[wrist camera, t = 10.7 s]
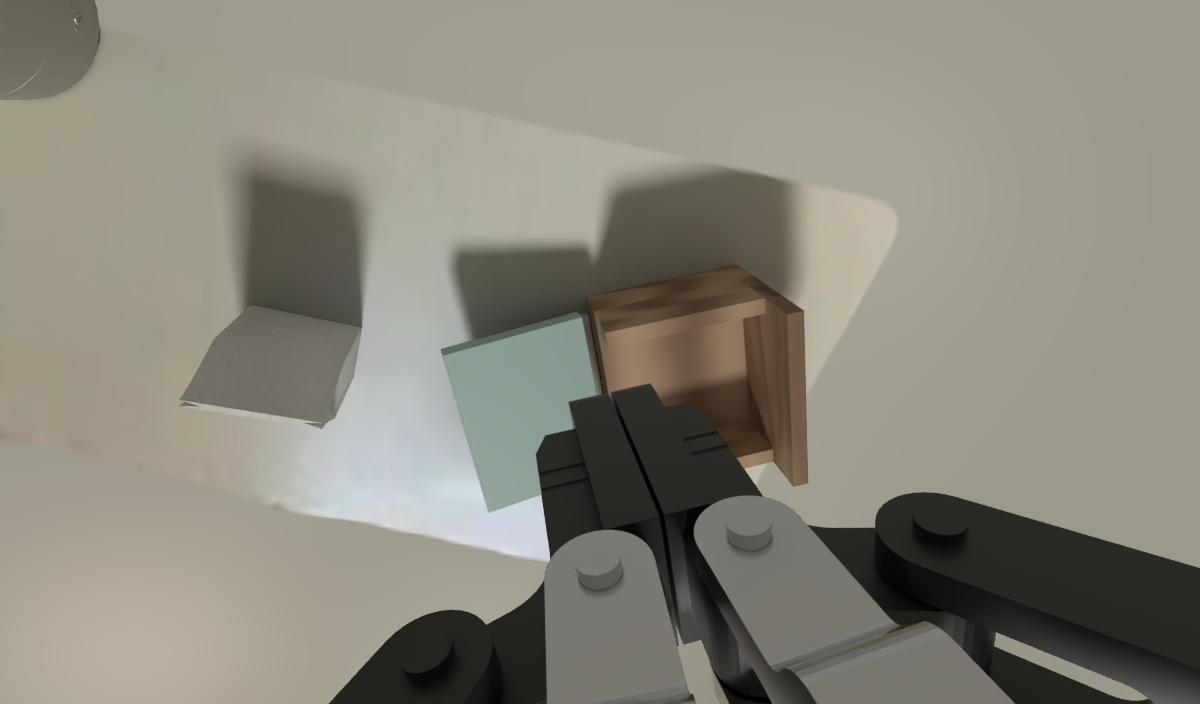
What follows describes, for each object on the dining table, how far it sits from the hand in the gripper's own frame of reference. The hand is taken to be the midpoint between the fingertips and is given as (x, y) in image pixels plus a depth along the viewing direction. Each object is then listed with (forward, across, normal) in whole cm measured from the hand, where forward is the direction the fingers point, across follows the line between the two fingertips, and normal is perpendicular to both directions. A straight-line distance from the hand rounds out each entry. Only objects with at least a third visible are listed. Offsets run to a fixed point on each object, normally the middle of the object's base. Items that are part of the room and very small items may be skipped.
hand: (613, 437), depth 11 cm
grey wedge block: (+31, +16, +7) cm, 36 cm away
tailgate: (+28, -2, +14) cm, 31 cm away
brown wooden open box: (+31, -8, +14) cm, 35 cm away
